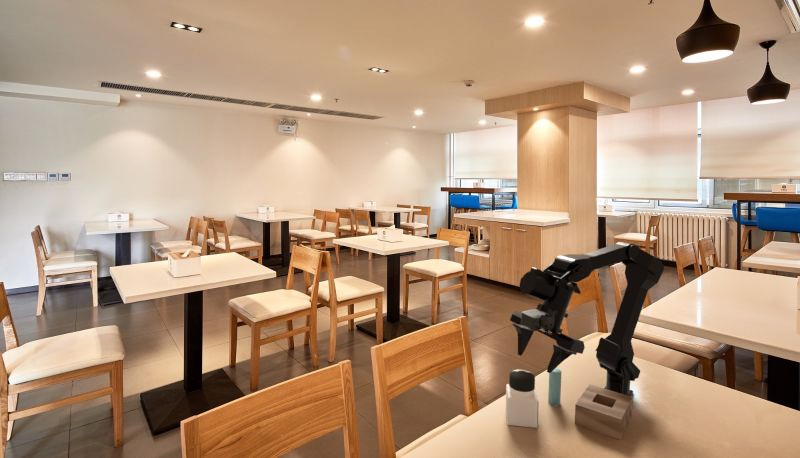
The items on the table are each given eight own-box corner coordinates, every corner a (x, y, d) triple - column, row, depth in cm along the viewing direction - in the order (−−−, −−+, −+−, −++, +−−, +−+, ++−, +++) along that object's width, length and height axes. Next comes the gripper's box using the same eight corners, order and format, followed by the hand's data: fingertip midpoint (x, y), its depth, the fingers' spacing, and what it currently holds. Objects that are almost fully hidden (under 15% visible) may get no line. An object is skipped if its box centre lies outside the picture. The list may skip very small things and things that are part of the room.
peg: (550, 398, 110) (551, 367, 109) (561, 402, 108) (563, 370, 107) (546, 403, 107) (547, 371, 106) (558, 407, 106) (559, 374, 104)
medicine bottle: (538, 428, 97) (539, 381, 95) (507, 425, 98) (508, 379, 97) (534, 411, 104) (535, 367, 102) (505, 409, 105) (506, 365, 104)
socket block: (588, 401, 108) (589, 384, 107) (631, 415, 101) (632, 396, 101) (574, 423, 99) (575, 404, 98) (620, 439, 92) (621, 419, 92)
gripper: (506, 286, 104) (485, 343, 104) (569, 312, 89) (544, 379, 89) (533, 295, 110) (513, 348, 110) (595, 321, 95) (572, 383, 95)
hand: (533, 363), depth 101 cm, fingers open, 9 cm apart
